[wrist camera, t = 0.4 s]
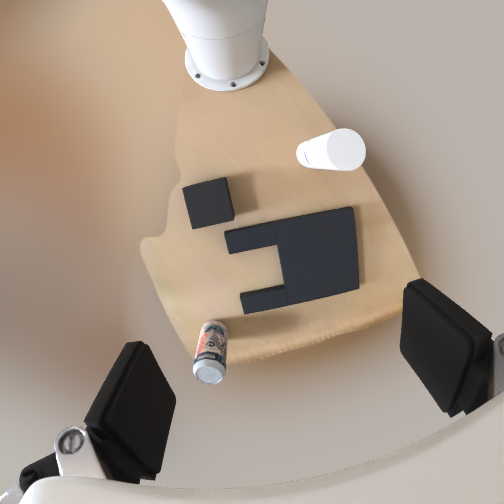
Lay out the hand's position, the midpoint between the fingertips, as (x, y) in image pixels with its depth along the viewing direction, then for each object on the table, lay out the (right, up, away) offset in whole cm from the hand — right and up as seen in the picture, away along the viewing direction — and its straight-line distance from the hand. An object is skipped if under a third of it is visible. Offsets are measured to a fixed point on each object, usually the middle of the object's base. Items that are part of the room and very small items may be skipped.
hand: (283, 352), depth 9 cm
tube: (+8, +18, +30) cm, 36 cm away
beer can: (-8, -10, +38) cm, 41 cm away
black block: (-7, +11, +31) cm, 34 cm away
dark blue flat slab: (+6, +2, +35) cm, 35 cm away
